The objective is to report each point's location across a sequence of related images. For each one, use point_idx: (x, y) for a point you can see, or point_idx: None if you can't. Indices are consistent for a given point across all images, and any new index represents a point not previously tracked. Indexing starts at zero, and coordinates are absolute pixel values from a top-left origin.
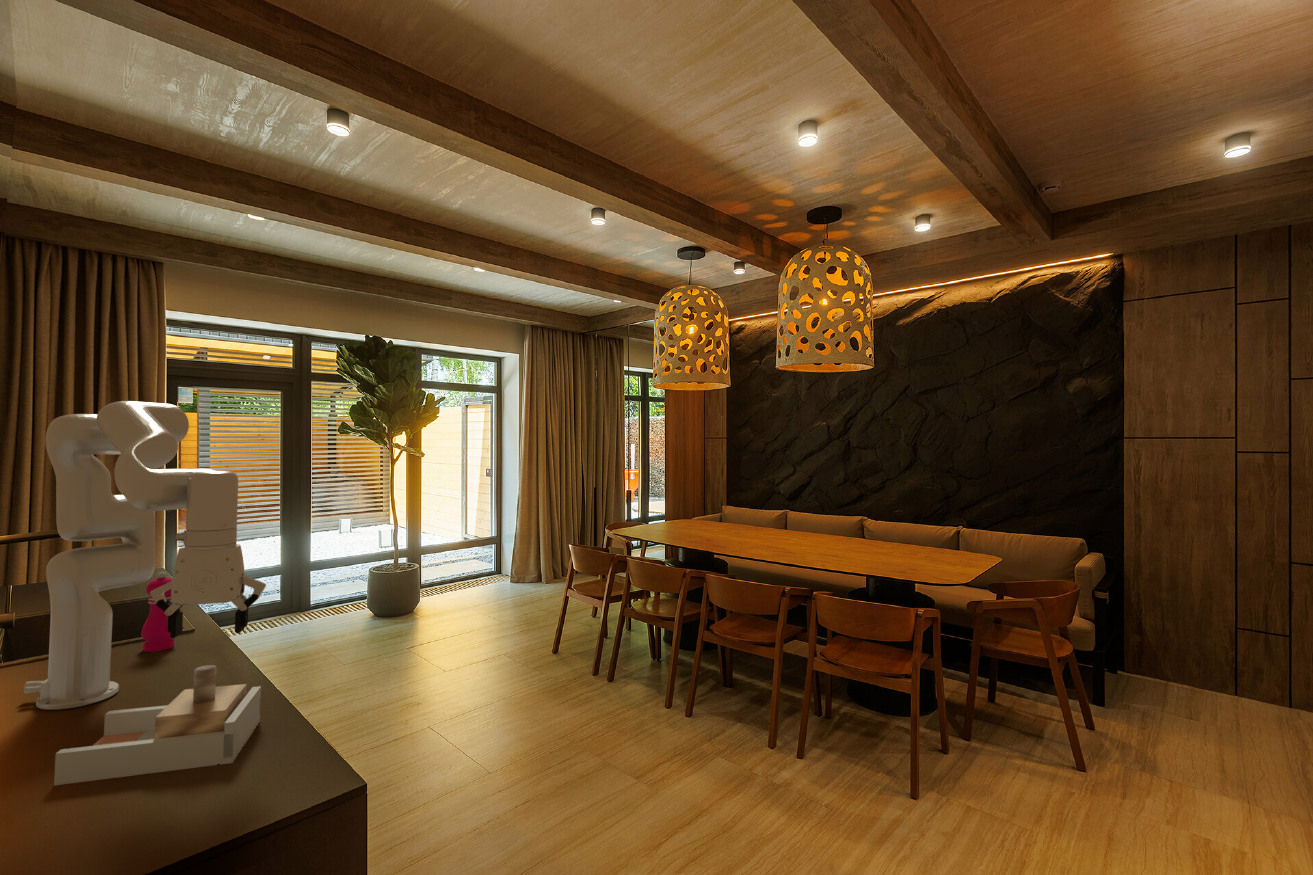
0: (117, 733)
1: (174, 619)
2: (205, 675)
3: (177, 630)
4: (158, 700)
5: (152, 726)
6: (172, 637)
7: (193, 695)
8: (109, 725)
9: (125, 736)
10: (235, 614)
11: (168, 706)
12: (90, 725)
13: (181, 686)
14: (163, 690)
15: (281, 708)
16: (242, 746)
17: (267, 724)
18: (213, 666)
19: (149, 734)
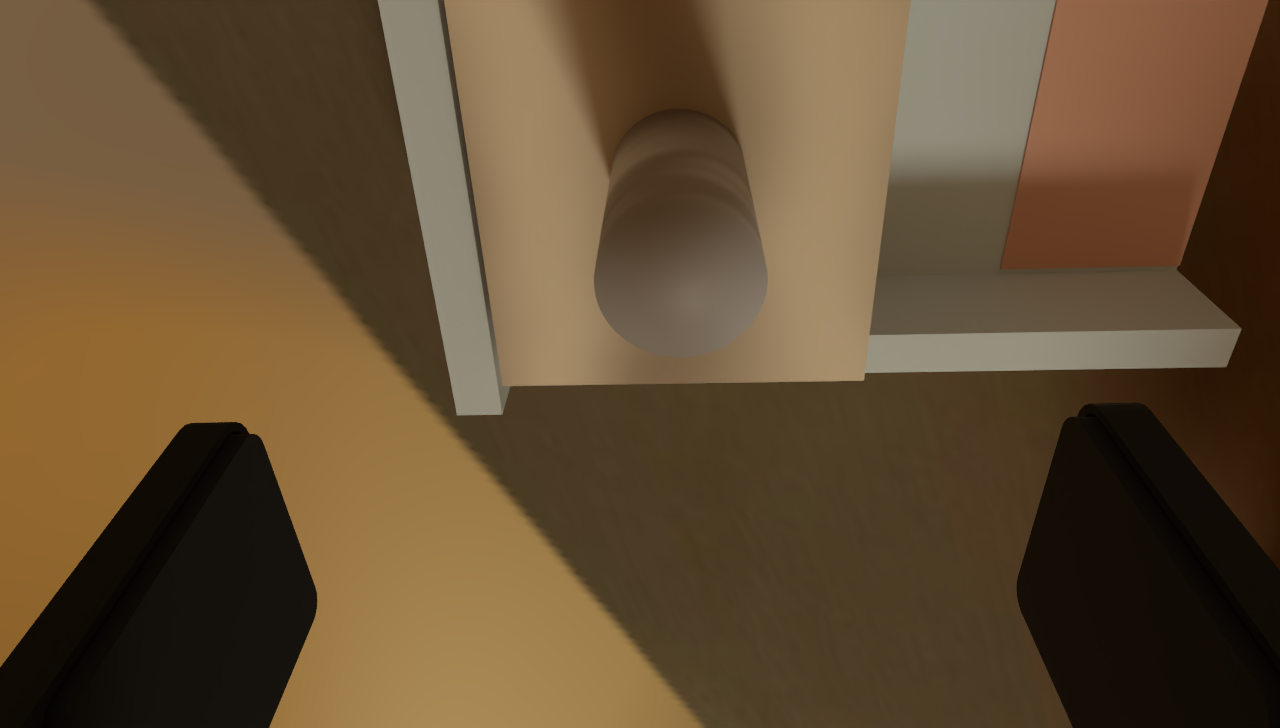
0: (1120, 275)
1: (1261, 650)
2: (650, 188)
3: (1087, 527)
4: (1017, 607)
5: (971, 285)
6: (1108, 403)
7: (742, 161)
8: (1180, 296)
9: (1076, 238)
10: (92, 682)
11: (885, 95)
12: (1244, 441)
13: (959, 704)
14: (1019, 685)
15: (454, 425)
16: None
17: None
18: (627, 317)
19: (968, 239)
